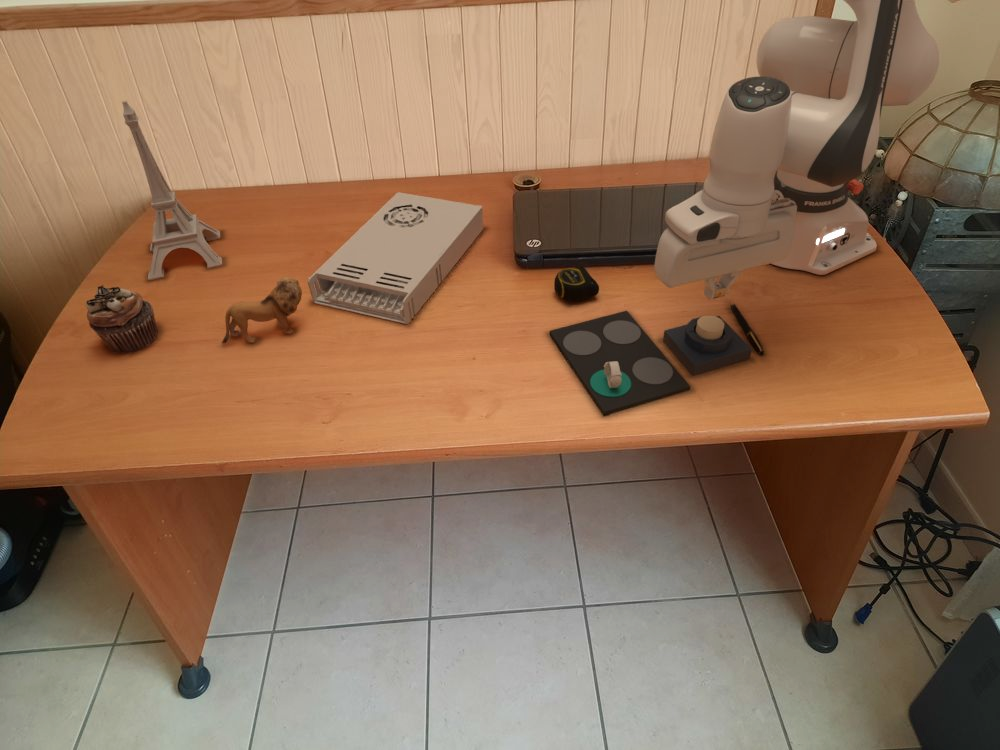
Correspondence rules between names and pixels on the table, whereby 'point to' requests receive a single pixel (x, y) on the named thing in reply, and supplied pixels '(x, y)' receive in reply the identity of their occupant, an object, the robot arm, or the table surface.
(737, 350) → the dock
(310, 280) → the power supply unit
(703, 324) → the button
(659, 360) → the mat
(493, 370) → the table surface
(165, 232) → the eiffel tower
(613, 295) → the table surface
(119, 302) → the cupcake
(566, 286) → the tape measure
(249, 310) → the lion figurine
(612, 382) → the smartwatch
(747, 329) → the fountain pen
